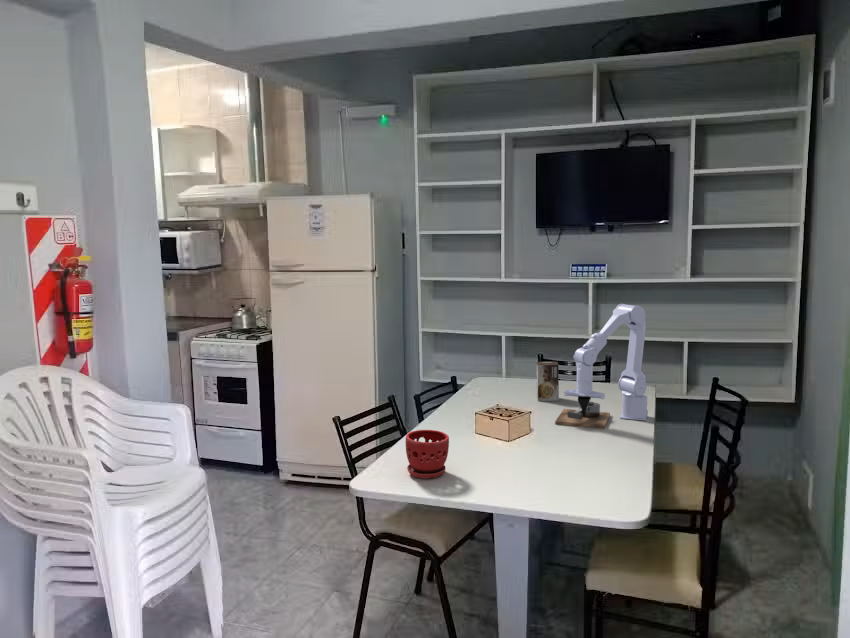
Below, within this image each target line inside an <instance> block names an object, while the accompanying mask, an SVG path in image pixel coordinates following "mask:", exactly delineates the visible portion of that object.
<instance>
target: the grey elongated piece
mask: <svg viewBox="0 0 850 638" xmlns="http://www.w3.org/2000/svg"><path fill="white" fill-rule="evenodd" d="M575 410H576V411H575V412H572V411H569V412H568V418H574V419H579V420H581V419H582V409H581V406H580V405H579V408H578V409H575ZM600 412H601V405H600V403H598V402H595V401H591V400H590V401H589V403H588V406H587V409H586V416H585V417H598V416H600Z"/></svg>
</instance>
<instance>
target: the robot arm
mask: <svg viewBox="0 0 850 638" xmlns="http://www.w3.org/2000/svg"><path fill="white" fill-rule="evenodd" d="M621 325H626V326H627V327H628V328H629V329H630V330H629V331H630V332H629V341H628V347H627V348H628V349H627V356H626V357H627V358H626V367H625V369H624V370H623V371H622V372H621V374H620V378H619V380H618V383H617V385H618V389H619V390H620V393H621V396H622V400H621V413H620V416H619V418H620V419H622V420H623V419H626V420H635V421H646V420H647V418H648V414H649V413H648V411H649V410H648V395H644V394H645V393H646V391H647V388H648V386H647V385H648V384H647V382H646V381H647V380H646V379H647V377H646V375H645V374H644V372H642V365H643V356H644V347H645V346H644V345H645V337H646V328H647V323H646V311H645V309H644V308H643V307H642V306H641V305H634V304H626V303H619V304H618V305H617V306H616V307H615V308H614V309H613V310H612V315H611V316H610V317H609V319H608V321H607V322H606V323H605V324H604V326H603V327H602V329H601V330H600V331H599V332H594V333H593V334H591V335H590V338H589V339H588V340H587V341H586V342H585V343H584V344H583V345H582V347H580V348H577V349H576V350H575V352H574V355H573V356H572V357H573V361H574V362H575V366H576V389H565V390H564V391H563V393H564V397H577V401H578V404H579V407H580V406H581V409H582V417H585V416H586V409H587V406H588V403H589V401H590V402H591V399H601V400H605V396H606V394H605V392H600V391H599V392H598V391H593V377H594V376H593V372H594V371H593V369H594V367H593V366H594V363H596V361H597V359H598V358H597V357H598V354H599V353H600V352H601V351H602V349H604V347H605V346H606V345H607V344H608V340H607V339H608V338H609V337H610V336H611V335H612V334H613V333H614V332H615V331H616V330H617V329H618V328H619V327H620V326H621Z"/></svg>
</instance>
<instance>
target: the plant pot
mask: <svg viewBox="0 0 850 638" xmlns="http://www.w3.org/2000/svg"><path fill="white" fill-rule="evenodd" d="M421 438H423V439H424V441H420V439H421ZM430 440H431V441H430ZM449 446H450V437H449V435H448V434H447V433H445V432H443V431H440V430H434V429H418V430H413V431H410V432H408V433H407V434H406V435H405V453H406V458H407V461H408V465H407V466H406V470H407V472H408V473H409V474H410V475H412V476H413V477H415V478H419V479H434V478H438V477H440V476H442V475H443V474H444V473H445V471H446V466H445V463H446V461H447V458H448V455H449Z"/></svg>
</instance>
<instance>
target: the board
mask: <svg viewBox="0 0 850 638" xmlns="http://www.w3.org/2000/svg"><path fill="white" fill-rule="evenodd" d="M576 410H577V409H571V408H570V409H569V408H563V409H562V410H561V412H560V413H559V415H558V416H557V418H556V419H555V420H554V422H555V423H554V425H558V426H569V427H579V428H591V429H597V430H599V429H600V430H605V428H606V427H607V423H608V422H609V419H610V415H611V413H610V412H608V411H607V412H605V411H600V416H598V417H582V419H581V420H579V419H574V418H568V412H569V411H572V412H575V411H576Z"/></svg>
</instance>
